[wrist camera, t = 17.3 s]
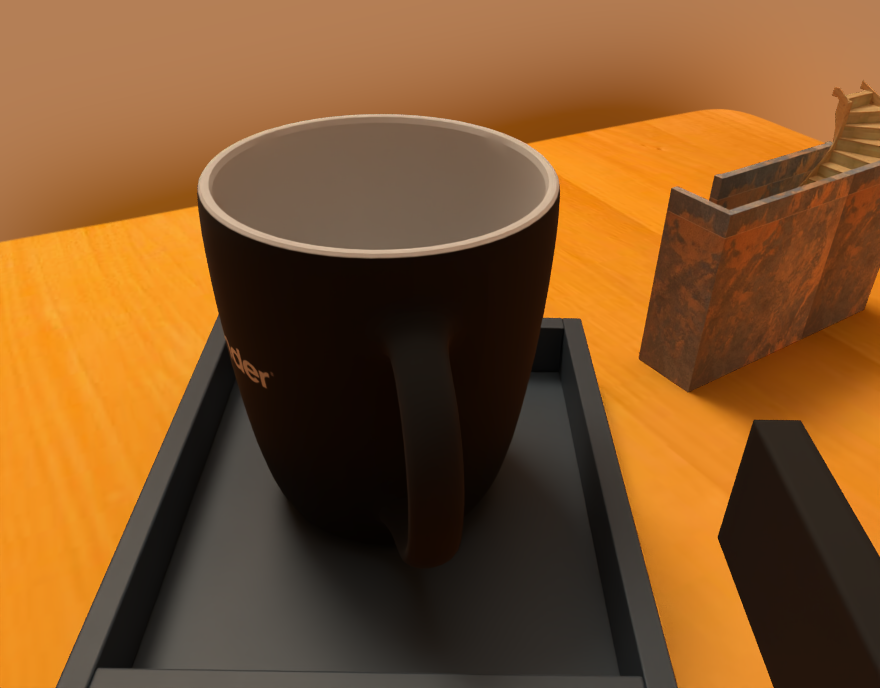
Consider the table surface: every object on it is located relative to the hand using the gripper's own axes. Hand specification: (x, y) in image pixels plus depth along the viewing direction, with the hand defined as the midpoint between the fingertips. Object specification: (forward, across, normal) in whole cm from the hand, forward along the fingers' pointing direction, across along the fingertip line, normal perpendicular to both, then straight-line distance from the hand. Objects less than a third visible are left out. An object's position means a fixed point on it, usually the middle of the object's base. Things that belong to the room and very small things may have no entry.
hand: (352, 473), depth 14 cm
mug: (+8, 0, -9) cm, 11 cm away
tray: (+8, 0, -9) cm, 12 cm away
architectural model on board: (+18, +15, -10) cm, 26 cm away
